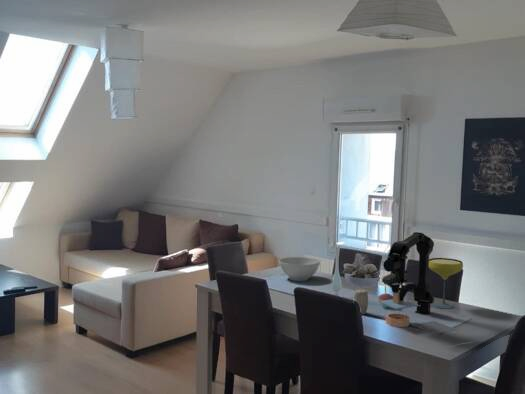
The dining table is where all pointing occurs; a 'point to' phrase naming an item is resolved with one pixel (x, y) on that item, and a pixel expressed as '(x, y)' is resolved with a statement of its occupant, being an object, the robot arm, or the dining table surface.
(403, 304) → the cover
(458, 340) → the dining table surface
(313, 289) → the dining table surface
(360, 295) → the carving
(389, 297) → the cupcake
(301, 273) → the decorative bowl
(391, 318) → the bowl
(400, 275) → the robot arm
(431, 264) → the cocktail glass
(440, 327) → the mat
